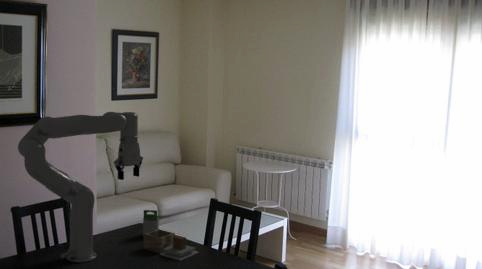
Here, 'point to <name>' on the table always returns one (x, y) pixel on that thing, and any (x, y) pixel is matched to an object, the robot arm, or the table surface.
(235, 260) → the table surface
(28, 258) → the table surface
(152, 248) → the keepsake box
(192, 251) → the felt mat
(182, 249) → the lid
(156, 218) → the ink box
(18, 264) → the table surface
